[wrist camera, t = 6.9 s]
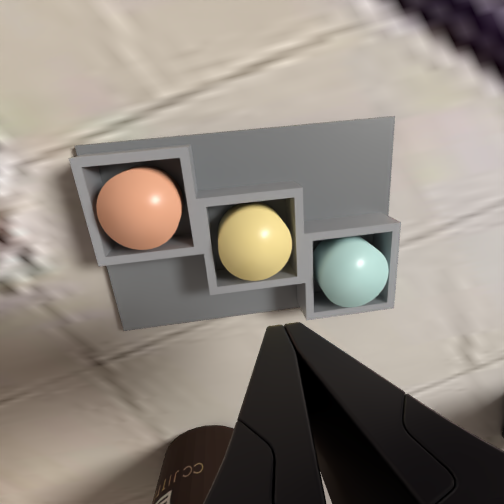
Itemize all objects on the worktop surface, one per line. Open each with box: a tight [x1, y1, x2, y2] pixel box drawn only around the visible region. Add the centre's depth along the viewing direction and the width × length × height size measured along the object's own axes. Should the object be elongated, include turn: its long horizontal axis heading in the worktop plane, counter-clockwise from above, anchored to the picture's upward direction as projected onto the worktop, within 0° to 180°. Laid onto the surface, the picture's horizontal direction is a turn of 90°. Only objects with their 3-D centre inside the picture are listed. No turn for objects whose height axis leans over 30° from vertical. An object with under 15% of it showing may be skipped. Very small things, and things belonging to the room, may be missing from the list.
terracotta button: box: [96, 165, 184, 250], centre depth 15 cm, size 3×3×2 cm
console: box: [69, 116, 401, 331], centre depth 17 cm, size 15×10×2 cm, turn 95°
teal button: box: [313, 235, 389, 307], centre depth 17 cm, size 3×3×2 cm
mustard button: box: [217, 202, 292, 281], centre depth 16 cm, size 3×3×2 cm
